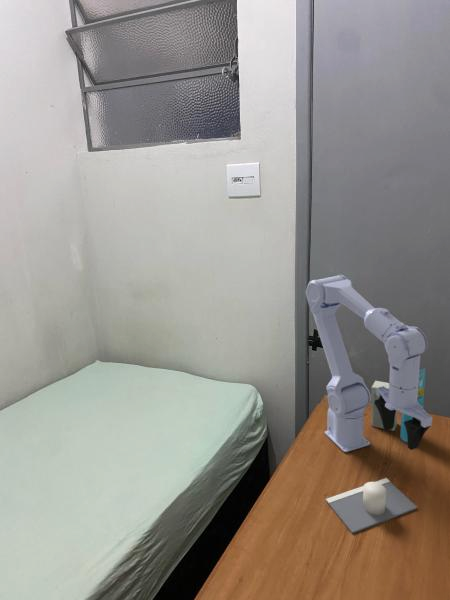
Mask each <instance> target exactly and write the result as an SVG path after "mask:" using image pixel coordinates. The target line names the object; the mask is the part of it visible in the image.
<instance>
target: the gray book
mask: <svg viewBox="0 0 450 600" xmlns="http://www.w3.org/2000/svg"><path fill="white" fill-rule="evenodd" d="M375 482H377V483H379V484H381V485H383V486H384V487H385V489H386V505H385V512H384V513H383V514H381V515H372V514H370V513H368V512H367V511H365V509H364V508H363V488H364V485H361V486H359V487H356V488H353V489H350V490H347V491H344V492H341V493H339V494H335V495H332V496H330V497H327V498H325V502H326V503H327V504H328V506H329V507H330V508H331V509H332V510H333V512H334V513H335V514H336V516H337V517H338V518H339V519H340V520H341V522H342V523H343V525H345V527H346V528H347V529H348V531H349V532H350V533H351V534H356V533H358V532H360V531H362V530H363V531H364V530H365V529H368V528H371V527H375V526H376V525H378V524H381V523H384V522H386V521H389V520H392V519H394V518H397V517H399V516H402V515H404V514H408V513H410V512H412V511H414V510H418V506H417V505H416V504H415V503H414V502H413V501H411V499H410V498H408V497H407V496H406V495H405V494H404V493H403V492H402V491H401V490H400V489H398V488H397V486H395V484H393V483H392V482H391V481H390V479H388V478H387V477H384V478H381V479H379V480H376V481H375Z"/></svg>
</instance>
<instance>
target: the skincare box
mask: <svg viewBox="0 0 450 600" xmlns="http://www.w3.org/2000/svg"><path fill="white" fill-rule="evenodd" d="M382 386H384V387H386V388H388V389H389V382H386V381H379V380H374V382H373V384H372V385H371V418H370V419H371V423H370V424H371V427H374V428H379V429H383V430H384V428H383V424H382V419H381V416H380V413H379V411H378V409H377V407H376V405H375V404H374V403H375V400H378V399H379V398H380V397H378V396H377V395H376V388H378V387H382ZM397 425H398V411H397V410H396V414H395V421H394V427H393V429H390V430H389V431H393V432H394V431H396V429H397V427H398V426H397Z"/></svg>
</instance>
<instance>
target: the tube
mask: <svg viewBox="0 0 450 600" xmlns="http://www.w3.org/2000/svg"><path fill="white" fill-rule="evenodd" d="M425 385H426V368H425V367H424V368H422V369H421V370H419V382H418V396H417V402H418V403H419V404H420V405H421V407H422V408H423V409H424V401H425V400H424V398H425V387H426V386H425ZM412 418H413V417H411V416H409V415H407V414H404V413H402V412H401V419H400V433H399V434H400V435H399V437H400V439H401V440H402V441H403V442H404V443H407V444H408V436H407V430H406V427H405V425H404V422H405V421H408V420H412Z"/></svg>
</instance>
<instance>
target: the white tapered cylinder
mask: <svg viewBox="0 0 450 600" xmlns="http://www.w3.org/2000/svg"><path fill="white" fill-rule="evenodd" d="M363 486H364V488H363V508H364V509H365V511H367V512H368V513H370V514H372V515H381V514H383V513H384V512H385V505H386V489H385V487H384V486H383V485H381V484H379V483H377V482H376V481H368V482H365V483H364V484H363Z"/></svg>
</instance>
